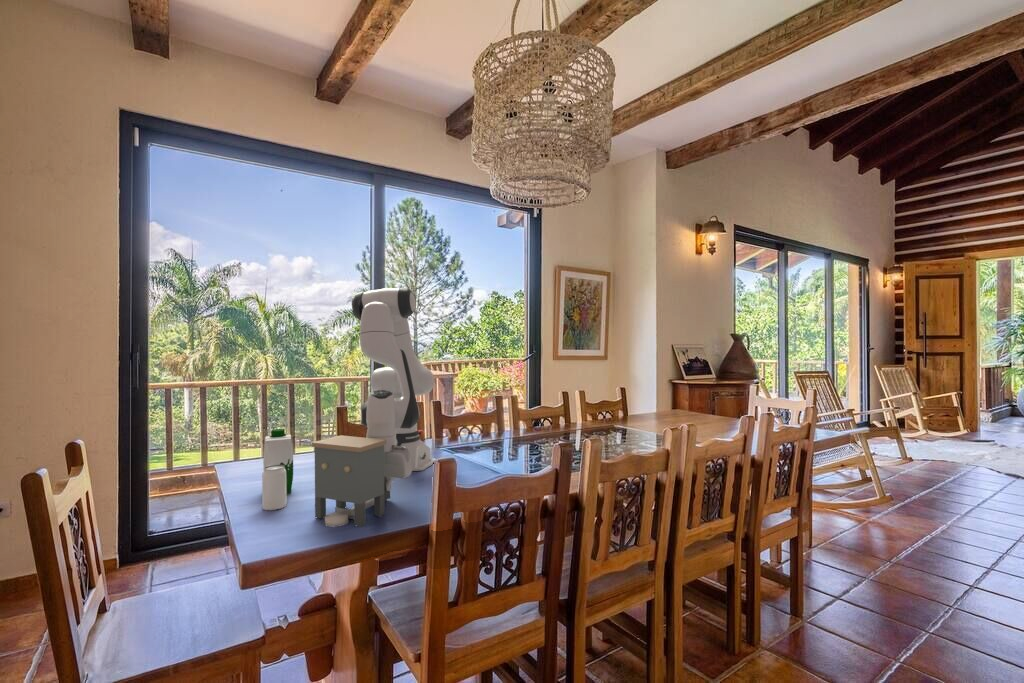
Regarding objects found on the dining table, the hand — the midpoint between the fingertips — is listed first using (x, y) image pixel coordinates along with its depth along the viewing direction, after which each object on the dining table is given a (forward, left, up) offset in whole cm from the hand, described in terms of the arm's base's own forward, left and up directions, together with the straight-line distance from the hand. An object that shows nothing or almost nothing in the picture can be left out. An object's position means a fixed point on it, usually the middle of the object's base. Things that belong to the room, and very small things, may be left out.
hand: (381, 489), depth 154 cm
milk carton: (+6, -37, -4) cm, 38 cm away
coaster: (+19, 0, -4) cm, 19 cm away
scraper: (+7, 0, -3) cm, 8 cm away
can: (+17, -26, -4) cm, 31 cm away
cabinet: (+14, 0, -4) cm, 14 cm away
